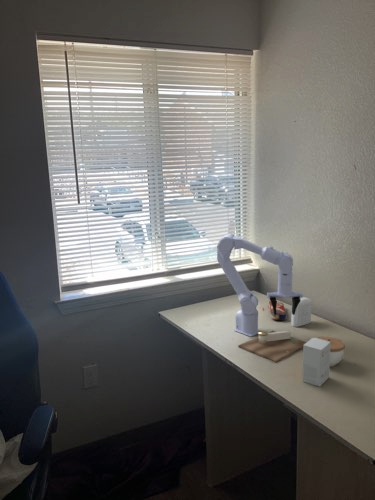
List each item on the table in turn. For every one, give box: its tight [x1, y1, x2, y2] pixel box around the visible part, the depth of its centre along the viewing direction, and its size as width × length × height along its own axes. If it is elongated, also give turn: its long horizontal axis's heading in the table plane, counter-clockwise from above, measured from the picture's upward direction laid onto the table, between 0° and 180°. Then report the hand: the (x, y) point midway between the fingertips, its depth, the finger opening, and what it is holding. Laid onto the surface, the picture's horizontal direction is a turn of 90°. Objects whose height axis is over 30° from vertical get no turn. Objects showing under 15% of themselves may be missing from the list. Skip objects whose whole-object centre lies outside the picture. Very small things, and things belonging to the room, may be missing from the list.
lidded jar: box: [317, 336, 346, 367], centre depth 148 cm, size 11×11×9 cm
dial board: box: [237, 330, 308, 363], centre depth 163 cm, size 18×22×1 cm
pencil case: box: [267, 300, 288, 321], centre depth 197 cm, size 11×20×5 cm, turn 158°
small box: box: [301, 337, 331, 388], centre depth 136 cm, size 8×6×13 cm
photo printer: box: [290, 296, 313, 328], centre depth 184 cm, size 10×4×12 cm, turn 123°
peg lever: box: [257, 329, 292, 344], centre depth 165 cm, size 14×4×4 cm, turn 105°
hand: (284, 314), depth 172 cm, fingers open, 7 cm apart
